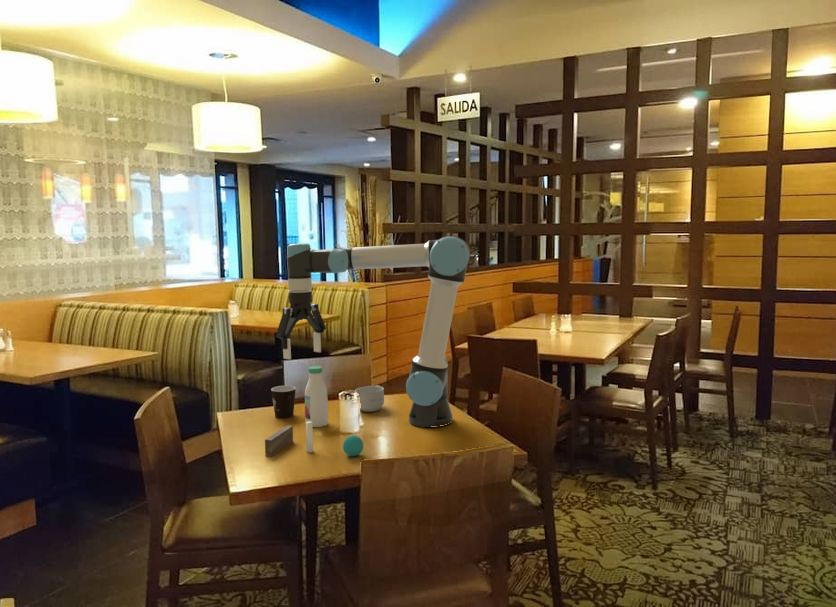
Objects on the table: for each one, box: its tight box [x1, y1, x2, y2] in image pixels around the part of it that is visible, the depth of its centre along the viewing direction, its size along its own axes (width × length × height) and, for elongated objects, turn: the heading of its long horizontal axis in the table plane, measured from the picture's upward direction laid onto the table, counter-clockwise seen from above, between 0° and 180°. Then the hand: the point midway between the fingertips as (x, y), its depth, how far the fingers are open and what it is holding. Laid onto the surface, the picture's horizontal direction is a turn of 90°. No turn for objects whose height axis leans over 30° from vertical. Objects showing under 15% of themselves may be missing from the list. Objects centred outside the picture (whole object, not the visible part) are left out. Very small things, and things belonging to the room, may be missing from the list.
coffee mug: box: [270, 385, 297, 420], centre depth 226 cm, size 12×9×10 cm
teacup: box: [354, 385, 385, 413], centre depth 236 cm, size 14×11×8 cm
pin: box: [305, 421, 314, 454], centre depth 191 cm, size 2×2×9 cm
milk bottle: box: [304, 365, 329, 428], centre depth 217 cm, size 8×8×20 cm
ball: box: [342, 434, 364, 457], centre depth 187 cm, size 6×6×6 cm
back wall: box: [264, 425, 294, 458], centre depth 194 cm, size 2×14×5 cm, turn 165°
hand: (302, 355), depth 210 cm, fingers open, 13 cm apart
